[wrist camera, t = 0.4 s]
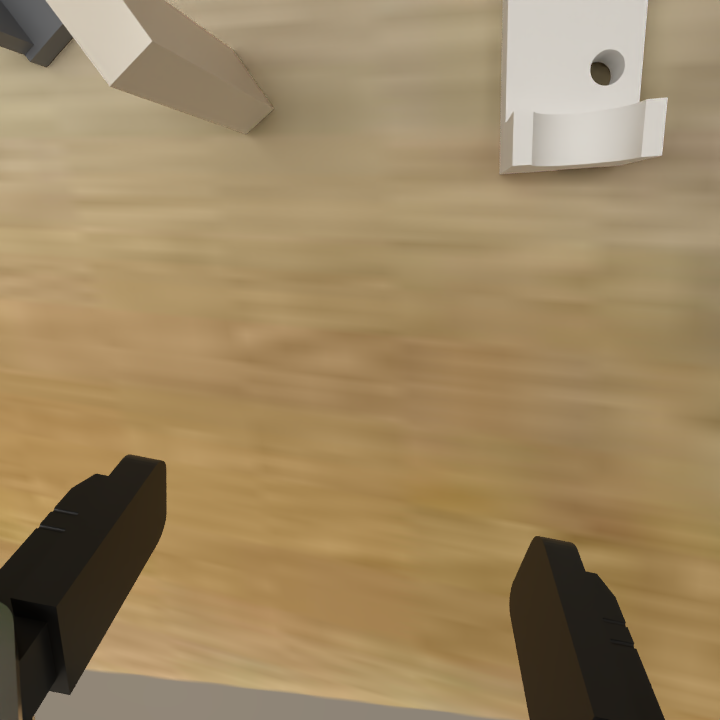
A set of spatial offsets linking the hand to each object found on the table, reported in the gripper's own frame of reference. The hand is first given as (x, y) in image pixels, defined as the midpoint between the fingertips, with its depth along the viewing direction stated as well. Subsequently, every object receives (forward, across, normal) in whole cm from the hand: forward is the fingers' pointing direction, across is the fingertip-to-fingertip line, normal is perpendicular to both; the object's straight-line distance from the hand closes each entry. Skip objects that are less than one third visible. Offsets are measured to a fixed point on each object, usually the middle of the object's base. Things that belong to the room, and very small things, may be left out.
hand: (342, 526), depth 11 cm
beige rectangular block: (+30, +12, -7) cm, 33 cm away
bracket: (+29, -8, -12) cm, 33 cm away
